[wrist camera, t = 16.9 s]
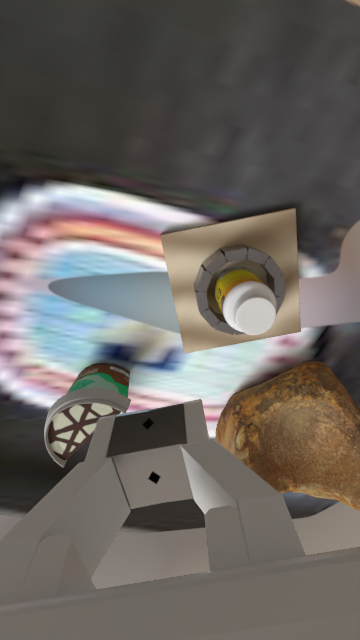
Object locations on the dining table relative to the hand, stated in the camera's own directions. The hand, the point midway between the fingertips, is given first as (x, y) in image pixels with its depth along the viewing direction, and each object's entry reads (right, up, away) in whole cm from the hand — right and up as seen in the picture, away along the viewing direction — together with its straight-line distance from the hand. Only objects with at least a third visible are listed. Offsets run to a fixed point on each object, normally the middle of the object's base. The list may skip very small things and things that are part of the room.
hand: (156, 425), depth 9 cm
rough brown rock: (+17, -8, +38) cm, 42 cm away
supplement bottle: (+8, +7, +30) cm, 32 cm away
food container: (-12, -5, +35) cm, 38 cm away
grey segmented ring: (+8, +7, +30) cm, 32 cm away
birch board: (+8, +8, +31) cm, 33 cm away
